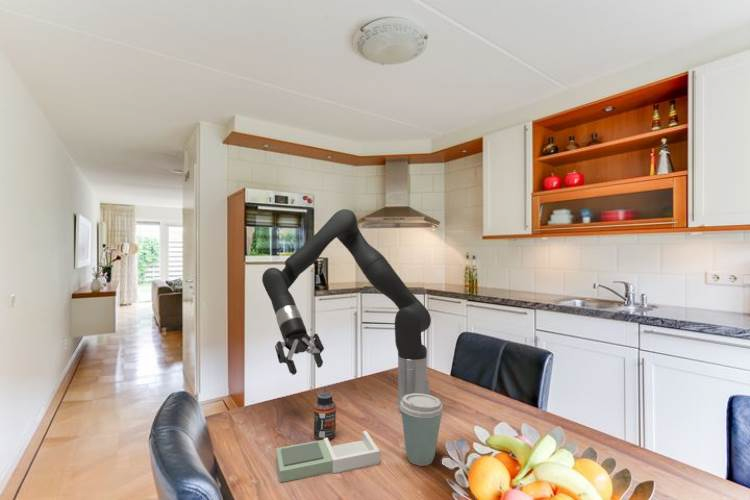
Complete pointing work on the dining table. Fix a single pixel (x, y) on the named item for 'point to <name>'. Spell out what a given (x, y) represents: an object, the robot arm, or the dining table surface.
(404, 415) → the disposable coffee cup
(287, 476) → the green rectangular block
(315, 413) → the supplement bottle
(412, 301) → the robot arm
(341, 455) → the chute bracket
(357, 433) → the dining table surface
